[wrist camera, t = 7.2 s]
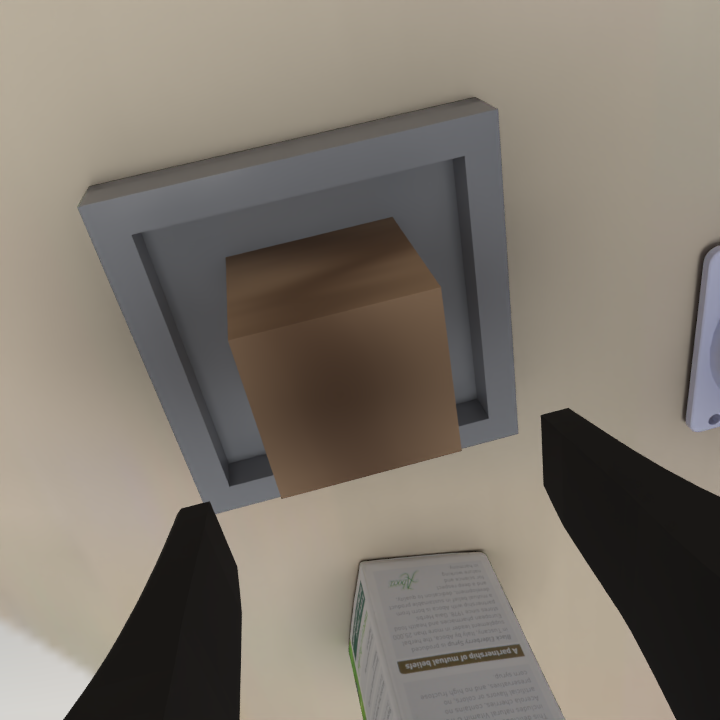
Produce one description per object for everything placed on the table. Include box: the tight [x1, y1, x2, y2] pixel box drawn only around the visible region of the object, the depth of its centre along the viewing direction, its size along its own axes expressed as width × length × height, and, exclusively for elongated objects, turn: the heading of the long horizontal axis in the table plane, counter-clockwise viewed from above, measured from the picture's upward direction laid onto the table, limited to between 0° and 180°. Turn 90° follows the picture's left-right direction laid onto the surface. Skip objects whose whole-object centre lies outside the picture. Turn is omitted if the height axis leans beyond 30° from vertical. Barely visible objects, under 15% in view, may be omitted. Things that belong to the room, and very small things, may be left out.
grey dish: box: [77, 97, 518, 514], centre depth 20 cm, size 11×11×2 cm
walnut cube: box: [226, 217, 462, 499], centre depth 18 cm, size 5×5×5 cm
